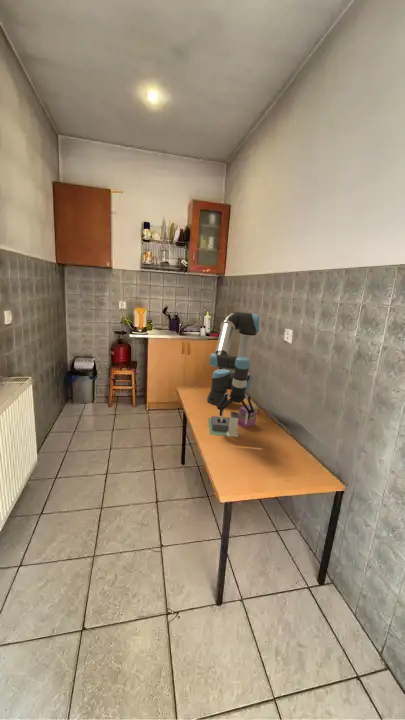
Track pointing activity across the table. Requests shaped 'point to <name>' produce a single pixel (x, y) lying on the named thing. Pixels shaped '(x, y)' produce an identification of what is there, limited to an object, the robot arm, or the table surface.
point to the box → (250, 420)
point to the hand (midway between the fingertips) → (233, 422)
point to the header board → (213, 432)
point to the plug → (233, 423)
